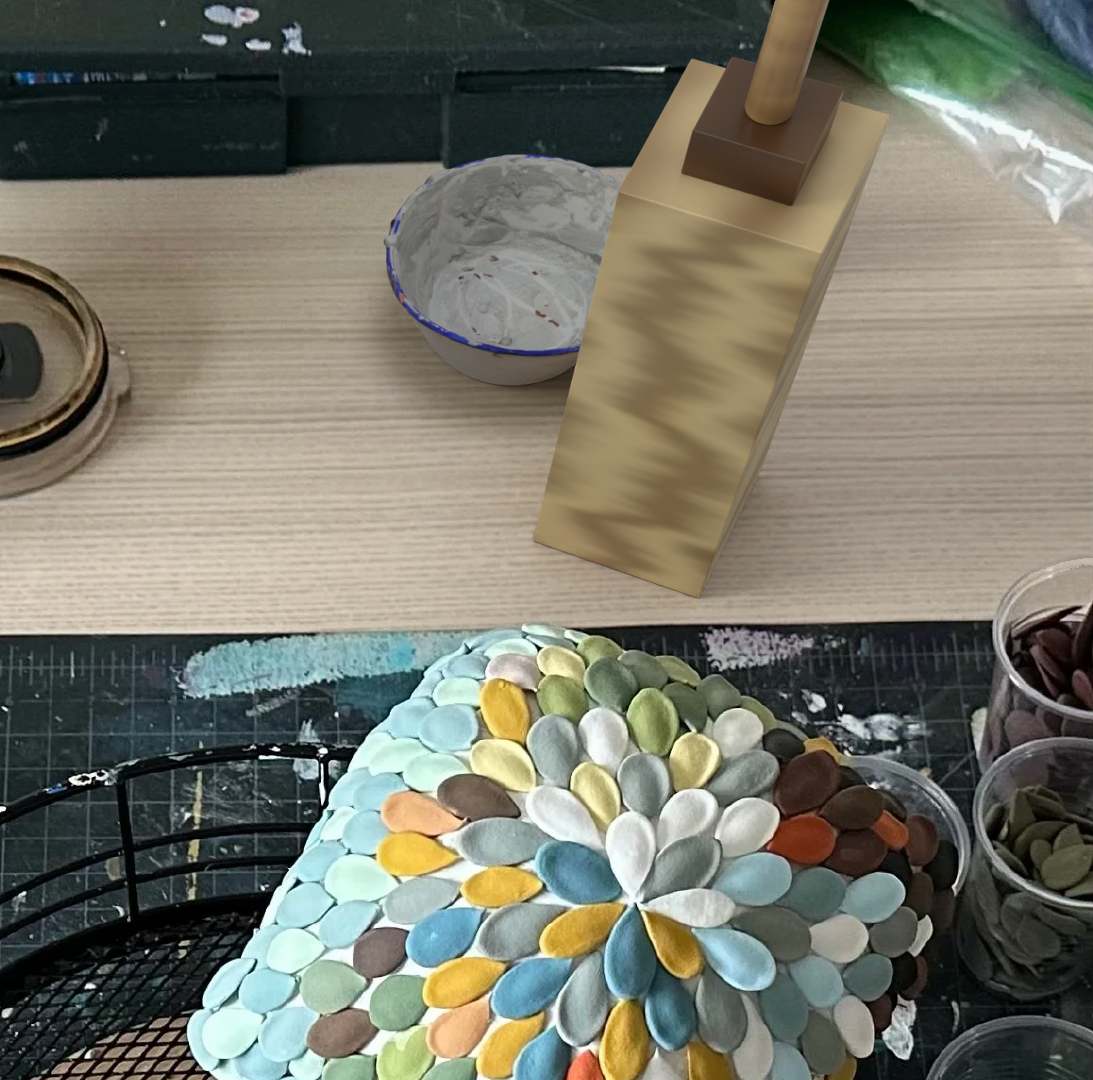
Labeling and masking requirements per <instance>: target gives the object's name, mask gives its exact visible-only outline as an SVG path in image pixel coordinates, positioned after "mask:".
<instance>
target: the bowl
mask: <svg viewBox="0 0 1093 1080" xmlns="http://www.w3.org/2000/svg"><path fill="white" fill-rule="evenodd" d="M450 167H452V165H451V166H450ZM622 184H623V182H621V181H619V180H618V179H617V178H615V177H613V176H611V175H609V174H605V172H603V171H601V169H598V168H596V167H594V166H591V165H587V164H585V163H582V162H579V161H576V160H572V159H567V158H562V157H555V156H550V155H541V154H532V153H521V154H504V155H498V156H492V157H487V158H483V159H477V160H474V161H473V160H472V161H469V162H466V163H463V164H460V165H457V166H454V167H452V168H444V169H439V170H438V171H436V172H434V173H433V174H431V175H430V176H428V177H427V178H426V180H425V181H424V183H423V184H422V185H420V186H419V187H417V188H416V189H414V191H413V192H412V193H411V195H409V197H408V198H407V199H406V200H405V201H404V203H403V204H402V205H401V206H400V208H399V209H398V211H397V213H396V215H395V216H394V218H393V219H392V220H391V221H390V228H389V232H388V235H387V236H386V237H384V239H383V245H384V246H385V251H386V252H385V253H386V254H385V265H386V274H387V277H388V281H389V283H390V286H391V289H392V292H393V294H394V296H395V297H396V299H397V300H398V302H399V303H400V305H401V306H402V308H403V309H404V310H405V311H406V313H407V314H408V316H409V317H410V318H411V319H412V321H413V322H414V324H415V325H416V327H417V328H418V329H419V331H420V333H421V334H422V336H423V337H424V338H425V340H426V341H427V342H428V343H429V345H430V346H431V347H432V349H433V350H434V351H435V352H436V353H437V355H438V356H439V357H440V358H442V360H443V361H445V363H446V364H448V365H449V366H451V367H452V368H454V369H455V370H457V371H458V372H460V373H461V374H463V375H465V376H467V377H468V378H471V379H474V380H476V381H477V380H478V381H480V382H483V383H484V382H485V383H489V384H492V385H498V386H525V385H532V384H537V383H540V382H544V381H547V380H552V379H553V378H555V377H557V376H559V375H563V374H564V373H565V372H567V371H569V370H570V369H571V368H573V367H574V366H576V362H577V358H578V354H579V350H580V346H581V342H582V338H583V333H584V329H585V325H586V321H587V317H588V313H589V309H590V305H591V301H592V297H593V293H594V289H595V285H596V281H597V277H598V273H599V268H600V264H601V260H602V256H603V252H604V248H605V244H606V240H607V236H608V232H609V228H610V224H611V220H612V216H613V212H614V208H615V204H616V199H617V195H618V191H619V190H620V188H621V186H622Z"/></svg>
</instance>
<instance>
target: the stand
mask: <svg viewBox="0 0 1093 1080" xmlns="http://www.w3.org/2000/svg"><path fill="white" fill-rule="evenodd" d="M725 69H726V67H723V66H719V65H716V64H712V63H709V62H706V61H702V60H698V59H695V58H691V59H690V60H689V63H688V64H687V66H686V68H685V70H684V72H683V73H682V75H681V77H680V79H679V81H678V83H677V84H676V86H675V87H674V90H673V92H672V93H671V95H670V96H669V99H668V101H667V102H666V104H665V106H664V108H663V110H662V112H660V115H659V117H658V119H657V120H656V122H655V124H654V126H653V128H652V130H651V131H650V132H649V135H648V137H647V139H646V141H645V142H644V144H643V146H642V148H641V150H639V151H640V152H639V153H638V155H637V157H636V159H635V161H634V162H633V164H632V166H631V168H630V169H629V171H628V173H627V175H626V177H625V179H624V180H623V182H622V186H621V188H620V190H619V191H618V195H617V199H616V204H615V208H614V212H613V216H612V220H611V224H610V228H609V232H608V236H607V240H606V244H605V248H604V252H603V256H602V260H601V264H600V268H599V273H598V277H597V281H596V285H595V289H594V293H593V297H592V301H591V305H590V309H589V313H588V317H587V321H586V325H585V329H584V333H583V338H582V342H581V346H580V350H579V354H578V358H577V362H576V365H574V366H575V367H574V371H573V375H572V379H571V383H570V387H569V390H568V393H567V394H568V395H567V399H566V403H565V407H564V411H563V415H562V419H561V422H560V423H561V424H560V428H559V431H558V432H559V433H558V436H557V439H556V444H555V448H554V452H553V456H552V459H551V464H550V467H549V472H548V476H547V480H546V484H545V488H544V493H543V496H542V499H541V504H540V508H539V513H538V516H537V521H536V524H535V529H534V533H533V538H532V541H533V542H535V543H538V544H541V545H544V546H547V547H550V548H553V549H556V550H557V551H558V550H559V551H561V552H565V553H568V554H570V555H572V556H576V557H579V558H581V559H584V560H587V561H590V562H592V563H593V562H594V563H596V564H599V565H602V566H605V567H607V568H610V569H614V570H616V571H619V572H621V573H625V574H628V575H630V576H633V577H637V578H639V579H642V580H644V581H648V582H650V583H653V584H657V585H658V586H659V585H660V586H661V587H665V588H668V589H671V590H673V591H677V592H679V593H682V594H685V595H688V596H691V597H693V598H697V599H700V598H701V596H702V594H703V592H704V590H705V588H706V585H707V584H708V582H709V579H710V577H711V575H712V573H713V571H714V569H715V567H716V565H717V563H718V561H719V559H720V557H721V554H722V552H723V550H724V548H725V546H726V545H727V542H728V540H729V538H730V537H731V534H732V532H733V531H734V528H735V526H736V523H738V520H739V518H740V516H741V513H742V511H743V509H744V507H745V505H746V503H747V501H748V499H749V497H750V495H751V493H752V491H753V489H754V487H755V485H756V482H757V480H758V479H759V476H760V474H761V471H762V468H763V466H764V463H765V460H766V457H767V454H768V452H769V450H770V447H771V443H772V442H773V438H774V435H775V433H776V430H777V427H778V425H779V422H780V419H781V416H782V414H783V411H784V408H785V406H786V403H787V400H788V397H789V395H790V392H791V389H792V387H793V384H794V381H795V378H796V376H797V373H798V370H799V367H800V364H801V362H802V360H803V356H804V353H805V350H806V348H807V345H808V343H809V340H810V337H811V335H812V331H813V329H814V327H815V323H816V322H817V321H816V320H817V318H818V315H819V312H820V310H821V307H822V304H823V302H824V299H825V296H826V293H827V290H828V287H829V285H830V282H831V280H832V277H833V274H834V271H835V269H836V266H837V263H838V260H839V258H840V255H841V252H842V249H843V247H844V244H845V242H846V239H847V236H848V234H849V230H850V228H851V225H852V223H853V222H852V221H853V219H854V217H855V214H856V211H857V209H858V206H859V203H860V200H861V198H862V195H863V192H864V189H865V187H866V184H867V181H868V178H869V176H870V172H871V170H872V168H873V165H874V162H875V159H876V156H877V154H878V151H879V149H880V146H881V142H882V139H883V137H884V135H885V132H886V130H887V126H888V124H889V121H890V118H891V115H890V114H888V113H884V112H881V111H878V110H875V109H870V108H867V107H863V106H861V105H856V104H853V103H849V102H845V101H843V100H840V103H839V106H838V109H837V112H836V115H835V118H834V121H833V124H832V127H831V130H830V132H829V134H828V136H827V138H826V140H825V142H824V144H823V146H822V148H821V150H820V152H819V154H818V156H817V158H816V160H815V162H814V164H813V166H812V168H811V170H810V172H809V174H808V176H807V178H806V180H805V182H804V184H803V186H802V188H801V190H800V192H799V194H798V196H797V198H796V200H795V202H794V203H793V205H792V206H790V205H786V204H783V203H780V202H776V201H773V200H769V199H766V198H763V197H759V196H756V195H753V194H749V193H746V192H743V191H739V190H736V189H732V188H729V187H726V186H722V185H719V184H716V183H712V182H709V181H706V180H702V179H699V178H696V177H692V176H689V175H685V174H682V173H681V170H682V167H683V163H684V159H685V156H686V152H687V148H688V145H689V141H690V137H691V134H692V130H693V129H694V127H695V125H696V123H697V121H698V119H699V117H700V116H701V114H702V112H703V110H704V108H705V106H706V104H707V103H708V101H709V99H710V97H711V95H712V93H713V91H714V90H715V88H716V86H717V84H718V82H719V80H720V78H721V77H722V75H723V73H724V71H725Z"/></svg>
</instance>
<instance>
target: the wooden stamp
mask: <svg viewBox="0 0 1093 1080" xmlns="http://www.w3.org/2000/svg"><path fill="white" fill-rule="evenodd" d="M829 2H830V0H775V1H774V4H773V6H772V11H771V14H770V17H769V21H768V24H767V26H766V27H767V28H766V31H765V34H764V37H763V40H762V45H761V47H760V51H759V54H758V58H757V61H756V62H753V61H748V60H745V59H742V58H738V57H735V56H732V57H731V58H730V59H729V62H728V64H727V65H726V67H725V68H726V69H725V71H724V73H723V75H722V77H721V78H720V80H719V82H718V84H717V86H716V88H715V90H714V91H713V93H712V95H711V97H710V99H709V101H708V103H707V104H706V106H705V108H704V110H703V112H702V114H701V116H700V117H699V119H698V121H697V123H696V125H695V127H694V129H693V130H692V134H691V137H690V141H689V145H688V148H687V152H686V156H685V159H684V163H683V167H682V170H681V173H682V174H685V175H689V176H692V177H696V178H699V179H702V180H706V181H709V182H712V183H716V184H719V185H722V186H726V187H729V188H732V189H736V190H739V191H743V192H746V193H749V194H753V195H756V196H759V197H763V198H766V199H769V200H773V201H776V202H780V203H783V204H786V205H790V206H792V205H793V203H794V202H795V200H796V198H797V196H798V194H799V192H800V190H801V188H802V186H803V184H804V182H805V180H806V178H807V176H808V174H809V172H810V170H811V168H812V166H813V164H814V162H815V160H816V158H817V156H818V154H819V152H820V150H821V148H822V146H823V144H824V142H825V140H826V138H827V136H828V134H829V132H830V130H831V127H832V124H833V121H834V118H835V115H836V112H837V109H838V106H839V103H840V101H842V98H843V96H844V95H843V94H844V93H845V90H844V87H841V86H837V85H834V84H831V83H827V82H824V81H820V80H817V79H813V78H811V77H810V78H809V77H806V73H807V71H808V67H809V65H810V62H811V58H812V55H813V52H814V49H815V45H816V42H817V39H818V36H819V34H820V30H821V27H822V23H823V20H824V17H825V15H826V11H827V9H828V5H829Z"/></svg>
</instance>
